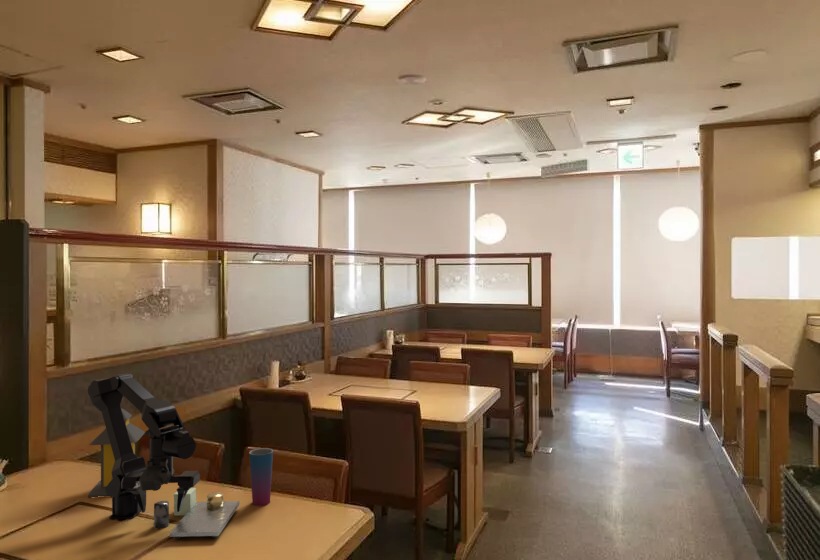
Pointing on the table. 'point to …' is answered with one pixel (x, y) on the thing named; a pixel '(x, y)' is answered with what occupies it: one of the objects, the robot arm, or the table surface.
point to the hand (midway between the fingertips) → (161, 511)
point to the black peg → (161, 514)
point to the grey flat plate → (205, 520)
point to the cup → (261, 475)
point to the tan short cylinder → (215, 500)
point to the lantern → (111, 454)
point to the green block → (185, 502)
